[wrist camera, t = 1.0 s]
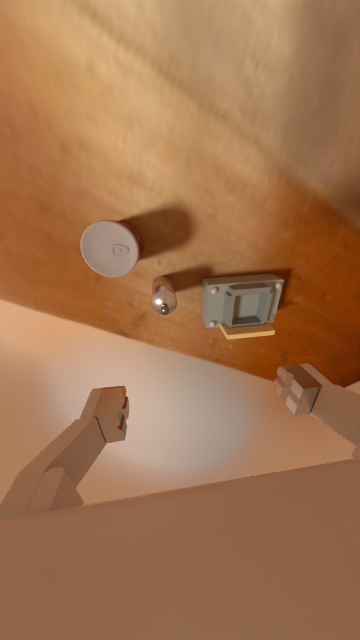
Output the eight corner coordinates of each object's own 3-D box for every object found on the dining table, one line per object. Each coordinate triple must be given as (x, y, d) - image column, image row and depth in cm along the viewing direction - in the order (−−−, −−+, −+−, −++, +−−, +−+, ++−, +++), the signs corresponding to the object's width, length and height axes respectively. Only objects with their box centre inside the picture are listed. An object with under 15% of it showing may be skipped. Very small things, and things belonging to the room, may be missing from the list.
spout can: (151, 276, 39) (149, 294, 29) (171, 275, 39) (177, 292, 29) (153, 295, 41) (152, 319, 31) (172, 294, 41) (178, 316, 31)
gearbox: (202, 278, 40) (215, 293, 32) (270, 273, 42) (301, 286, 33) (201, 318, 45) (212, 340, 36) (262, 312, 46) (287, 333, 38)
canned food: (149, 255, 37) (147, 266, 27) (113, 269, 37) (98, 285, 28) (132, 214, 33) (123, 210, 24) (93, 230, 34) (67, 232, 24)
